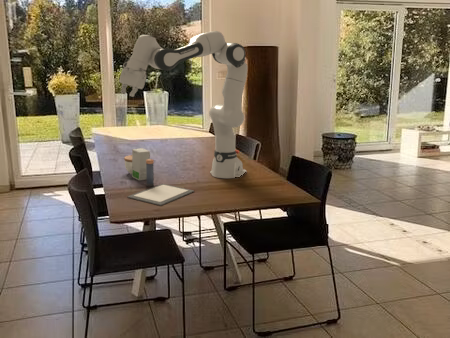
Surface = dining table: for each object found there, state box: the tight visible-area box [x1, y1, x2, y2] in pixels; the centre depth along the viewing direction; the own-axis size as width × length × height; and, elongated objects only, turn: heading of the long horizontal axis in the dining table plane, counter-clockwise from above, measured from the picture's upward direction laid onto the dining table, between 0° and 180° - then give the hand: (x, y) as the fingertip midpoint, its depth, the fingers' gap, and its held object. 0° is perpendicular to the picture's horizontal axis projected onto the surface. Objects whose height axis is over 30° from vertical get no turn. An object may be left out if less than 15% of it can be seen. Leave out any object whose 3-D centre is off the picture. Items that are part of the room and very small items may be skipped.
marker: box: [145, 158, 155, 188], centre depth 237 cm, size 4×4×14 cm
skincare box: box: [131, 147, 151, 181], centre depth 250 cm, size 8×7×16 cm
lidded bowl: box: [123, 154, 132, 175], centre depth 260 cm, size 13×13×11 cm
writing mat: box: [127, 183, 195, 207], centre depth 225 cm, size 26×20×1 cm
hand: (126, 95), depth 223 cm, fingers open, 8 cm apart
